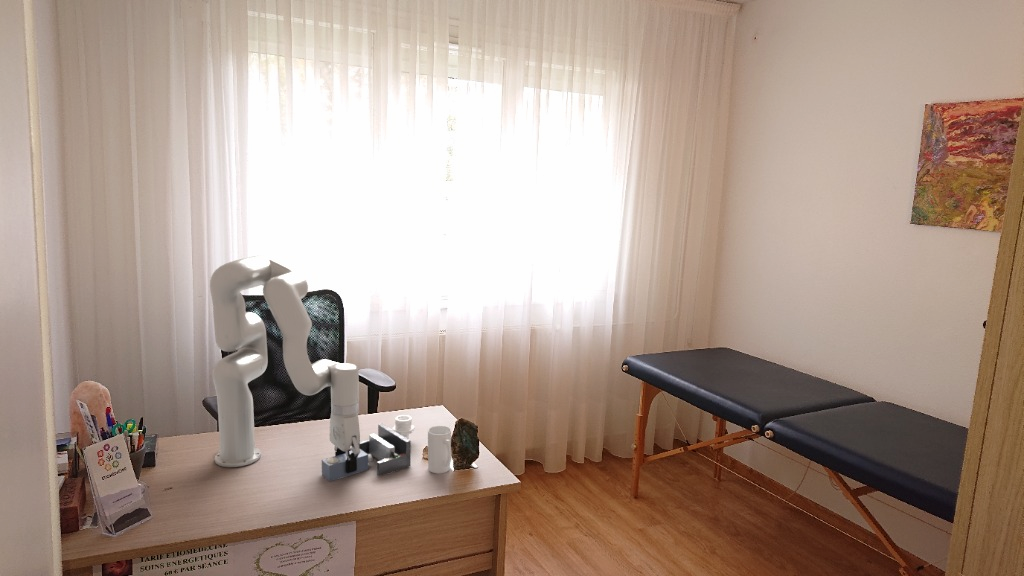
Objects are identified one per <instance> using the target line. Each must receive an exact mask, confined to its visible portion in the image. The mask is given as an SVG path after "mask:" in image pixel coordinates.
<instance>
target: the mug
mask: <svg viewBox="0 0 1024 576" xmlns="http://www.w3.org/2000/svg"><path fill="white" fill-rule="evenodd" d="M451 446H452V429H451V428H450V426H446V425H434V426H431V427H429V428H427V458H428V459H427V461H428V462H427V463H428V466H427V468H428V469H427V470H428V471H429V472H431V473H433V474H444V473H447V472H449V471H450V469H451V461H452V447H451Z"/></svg>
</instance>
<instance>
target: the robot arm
mask: <svg viewBox="0 0 1024 576" xmlns="http://www.w3.org/2000/svg"><path fill="white" fill-rule="evenodd" d="M259 286H263V288H262V294H263V297H264V299H265V302H266V303H267V305H268V308H269V310H270V312H271V314H272V316H273V318H274V320H275V323H276V324H277V326H278V329H279V331H280V333H281V335H282V357H283V364H284V367H285V369H286V372H287V374H288V377H290V380H291V383H292V384H293V385H294V387H295V389H296V390H297V391H298V392H299V393H301V394H302V395H306V396H313V395H316V394H318V393H319V392H321V391H322V390H323V389H325V388H328V387H330V399H331V400H330V401H331V402H330V407H331V409H330V410H331V411H330V412H331V413H330V420H329V442H331V444H332V445H334V455H335V456H337V455H341V454H344V453H346V457H347V460H346V473H351V472H354V471H356V470H357V458H358V455H359V454H360V449H359V446H360V442H361V434H360V433H361V431H360V421H359V413H360V401H359V400H360V396H359V395H360V391H359V390H360V389H359V388H360V386H359V382H360V381H359V380H360V379H359V378H360V377H359V376H360V375H359V369H358V366H357V365H356V364H354V363H350V362H349V363H346V362H345V363H344V362H343V363H340V362H338V361H337V362H336V361H332V360H330V359H326V358H325V359H319V360H317V361H315V362H313V363H311V361H310V358H309V355H308V349H307V343H308V338H309V336H310V332H311V329H312V328H313V327H312V326H313V322H312V320H311V318H310V316H309V313H308V312H307V311H308V310H307V309H306V308H305V305H304V303H303V301H302V299H303V298H305V297H306V296H307V293H308V291H309V285H308V282H307V280H306V279H305V277H304V276H303V275H302V274H300V273H299V272H298V271H296V270H293V269H292V268H290V267H288V266H286V265H284V264H282V263H280V262H277V261H276V260H273V259H272V258H270V257H268V256H264V255H263V256H262V255H256V256H250V257H246V258H241V259H236V260H233V261H230V262H226V263H224V264H222V265H220V266H219V267H218V268H216V269H215V270H214V272H213V273H212V274H211V277H210V280H209V288H210V295H211V301H212V313H213V314H212V316H213V327H214V329H213V330H214V339H215V343H216V346H217V348H219V350H221V351H223V352H229V353H230V352H233V353H231V354H229V355H226V356H224V357H223V358H221V359H220V360H218V361H217V362H216V364H215V365H214V366H213V369H212V374H211V375H212V376H211V377H212V381H213V386H214V388H215V393H216V401H217V415H218V434H219V452H217V453H216V454H215V456H214V462H215V464H216V465H218V466H220V467H223V468H238V467H245V466H248V465H251V464H253V463H255V462H257V461H258V460H259V459H260V458H261V456H262V451H261V449H260V448H258V447H256V441H255V439H256V438H255V421H254V419H255V416H254V415H255V414H254V399H253V394H252V392H251V390H250V388H249V385H248V384H249V383H250V382H251V381H253V380H256V379H257V378H258V377H260V376H262V375H263V374H264V373H265V371H266V369H267V367H268V362H269V361H268V359H269V358H268V344H267V343H268V342H267V329H266V325H265V322H264V321H263V319H262V318H261V317H260V316H259V315H258V314H257V313H255V312H251V311H246V309H247V308H246V307H247V306H246V302H245V298H244V296H243V294H242V293H241V292H242V291H245V290H248V289H252V288H257V287H259ZM235 351H236V352H235ZM352 450H353V453H351V454H350V453H349V452H351V451H352Z"/></svg>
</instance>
